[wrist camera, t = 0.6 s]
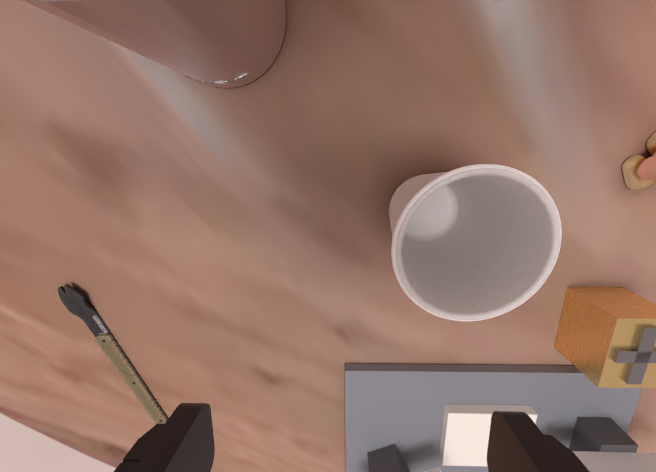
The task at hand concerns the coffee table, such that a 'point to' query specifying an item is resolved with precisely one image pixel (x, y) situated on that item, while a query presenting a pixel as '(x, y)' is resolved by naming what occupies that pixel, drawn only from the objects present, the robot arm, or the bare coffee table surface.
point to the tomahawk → (112, 350)
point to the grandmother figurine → (641, 168)
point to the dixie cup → (473, 240)
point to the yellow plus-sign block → (609, 336)
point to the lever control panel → (480, 416)
